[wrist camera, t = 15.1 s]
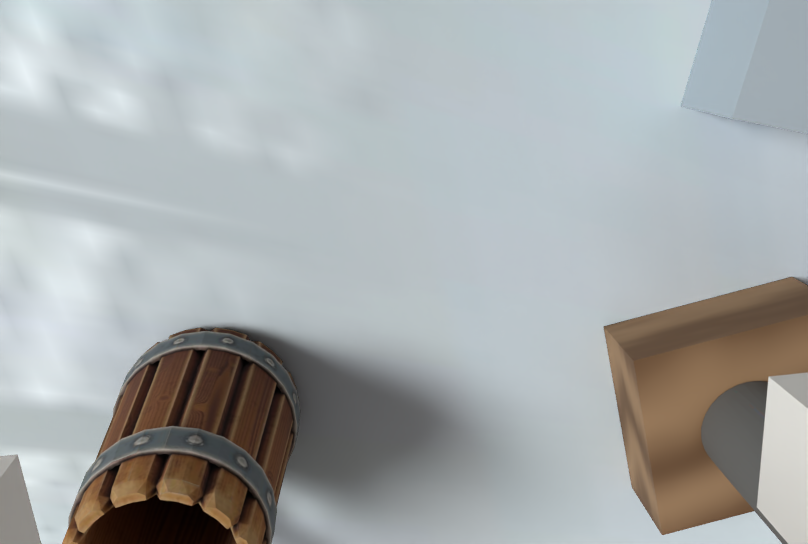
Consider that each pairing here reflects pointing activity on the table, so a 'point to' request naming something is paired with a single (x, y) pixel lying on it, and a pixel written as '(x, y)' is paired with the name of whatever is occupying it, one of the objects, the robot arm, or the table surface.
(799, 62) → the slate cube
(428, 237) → the table surface
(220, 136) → the table surface
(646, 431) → the walnut block
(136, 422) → the mug
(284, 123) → the table surface
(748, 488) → the bottle
